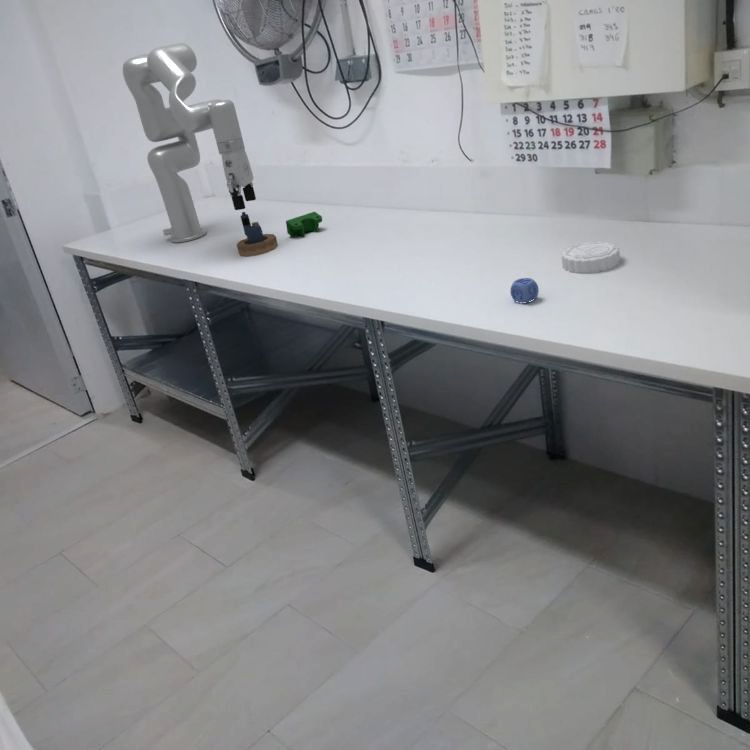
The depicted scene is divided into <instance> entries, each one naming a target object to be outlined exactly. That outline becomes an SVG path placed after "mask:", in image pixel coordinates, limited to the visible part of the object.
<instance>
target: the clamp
mask: <svg viewBox="0 0 750 750" xmlns="http://www.w3.org/2000/svg"><path fill="white" fill-rule="evenodd" d="M322 222H323V216H322V215H320V214H319V213H318V212H316V211H312V212H309V213H306V214H303V215H300V216H295V217H293V218H291V219H288V220H285V224H286V225H285V226H286V233H287V235H288V236H290V237H292V238H295V237H297V236H301V237H303V238H305V237H306V236H305V234H306V233H309V232H315V233H318V228H319V227H320V223H322Z"/></svg>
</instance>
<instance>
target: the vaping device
mask: <svg viewBox="0 0 750 750" xmlns="http://www.w3.org/2000/svg"><path fill="white" fill-rule="evenodd" d="M240 220H241V224H242V228H243V231H244V236H246V238H247V239H248V243H249V244H255V243H259V242H262V241H264V237H263V234H264V233H263V230H262V229H263V228H262V227H261V225H260V223H259V221H255V222H252V223H251V221H250V217H249V214H247V213H246V211H242V212H241V215H240Z"/></svg>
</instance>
